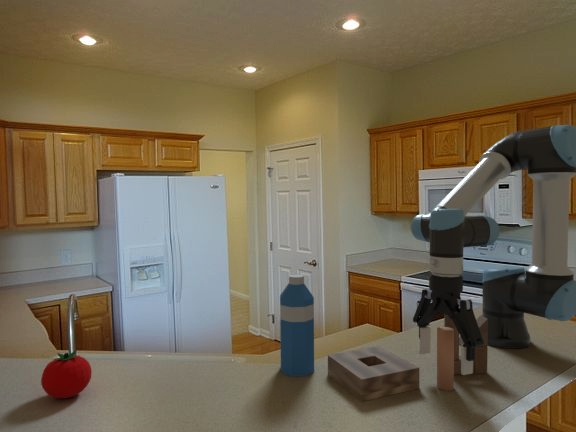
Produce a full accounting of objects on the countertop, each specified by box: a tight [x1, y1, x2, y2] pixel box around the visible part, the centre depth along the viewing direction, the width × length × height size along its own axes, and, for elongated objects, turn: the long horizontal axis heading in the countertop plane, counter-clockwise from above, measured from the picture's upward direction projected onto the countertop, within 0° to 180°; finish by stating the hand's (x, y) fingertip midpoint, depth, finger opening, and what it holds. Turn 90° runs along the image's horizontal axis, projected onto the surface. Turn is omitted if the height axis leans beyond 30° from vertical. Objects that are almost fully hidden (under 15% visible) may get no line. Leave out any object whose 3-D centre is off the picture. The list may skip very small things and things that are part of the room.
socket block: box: [327, 345, 420, 402], centre depth 104 cm, size 16×16×5 cm
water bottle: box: [279, 274, 315, 377], centre depth 111 cm, size 9×9×25 cm
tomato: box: [40, 350, 93, 399], centre depth 98 cm, size 10×10×10 cm
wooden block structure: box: [443, 311, 489, 375], centre depth 109 cm, size 4×11×18 cm, turn 95°
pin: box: [436, 326, 455, 392], centre depth 100 cm, size 4×4×14 cm
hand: (444, 362), depth 100 cm, fingers open, 13 cm apart
